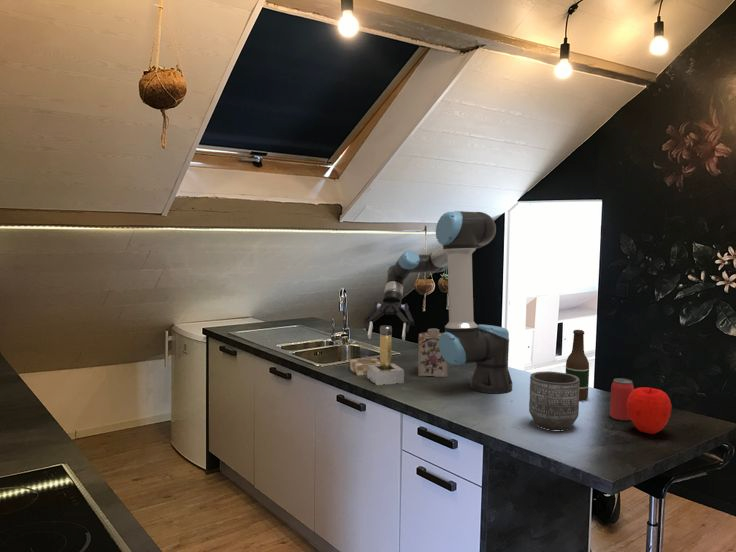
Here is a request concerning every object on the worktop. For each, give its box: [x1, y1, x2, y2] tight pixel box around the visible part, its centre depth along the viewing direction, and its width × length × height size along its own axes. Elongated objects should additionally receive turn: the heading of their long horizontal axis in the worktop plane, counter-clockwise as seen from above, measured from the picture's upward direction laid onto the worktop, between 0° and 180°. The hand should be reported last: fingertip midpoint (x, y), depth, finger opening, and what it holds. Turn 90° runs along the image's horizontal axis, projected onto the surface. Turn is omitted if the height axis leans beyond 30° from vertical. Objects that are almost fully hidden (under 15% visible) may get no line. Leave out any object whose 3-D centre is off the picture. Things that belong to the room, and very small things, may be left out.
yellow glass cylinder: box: [379, 325, 393, 370], centre depth 228 cm, size 4×4×21 cm
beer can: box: [609, 377, 635, 422], centre depth 186 cm, size 7×7×12 cm
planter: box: [528, 371, 580, 432], centre depth 178 cm, size 14×14×15 cm
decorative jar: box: [417, 328, 449, 378], centre depth 240 cm, size 12×12×18 cm
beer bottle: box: [565, 329, 590, 402], centre depth 207 cm, size 8×8×24 cm
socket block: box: [366, 363, 405, 386], centre depth 229 cm, size 11×11×5 cm
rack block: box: [349, 357, 380, 376], centre depth 243 cm, size 11×11×4 cm
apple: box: [626, 386, 672, 435], centre depth 173 cm, size 12×12×13 cm
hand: (386, 337), depth 233 cm, fingers open, 13 cm apart
